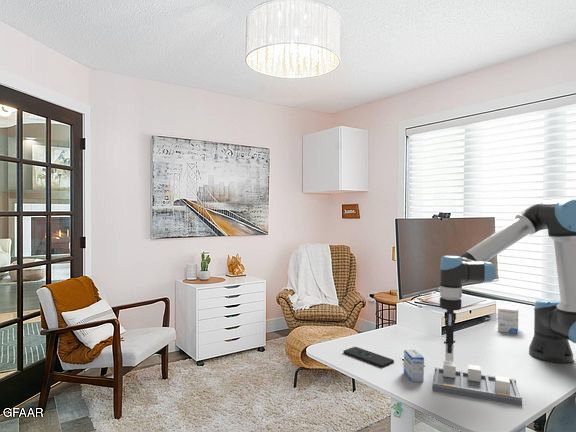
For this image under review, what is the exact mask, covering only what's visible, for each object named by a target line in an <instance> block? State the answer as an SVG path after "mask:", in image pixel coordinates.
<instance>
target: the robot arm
mask: <svg viewBox="0 0 576 432" xmlns="http://www.w3.org/2000/svg"><path fill="white" fill-rule="evenodd" d="M542 230H547V233H548V238H550V239H552V240H553V244H554V254H555V262H556V273H557V282H558V290H559V299H560V300H557V299H556V300H555V299H540V300H536V301H535V302H534V308H533V310H534V321H533V322H534V323H533V324H534V329H533V330H534V334H533V337H532V340H531V341H530V344H529V348H528V353H529V355H530V356H531V357H534V358H536V359H537V360H542V361H546V362H550V363H556V364H557V363H558V364H568V363H572V362H573V361H574V353H573V351H572V348H571V345H570V342H572V343H573V344H576V199H574V198H573V199H572V198H561V199H544V200H541V201H538V202H536V203H534V204H532V205H531V206H529V207H528V208H526V209H524V210H522V211H521V212H519V213H518V214H516V215H515V219H514V220H512V221H511V222H509V223H508V224H506V225H504V226H503V227H501V228H500V229H498V230H497V231H495V232H494V233H492V234H491V235H489V236H488V237H486V238H485V239H484V240H482V241H480V242H479V243H477V244H476V245H474V246H473V247H471V248H470V249H468V250H467V251H465V252H463V253H462V254H460V255H442V256H441V258H440V264H439V275H440V276H439V277H440V279H439V281H440V282H439V287H438V288H437V291H439V296H440V297H439V308H440V309H443V310H446V311H444V315H443V317H444V326H446V327H445V328H446V329H445V330H446V331H445V332H446V333H445V341H443V344H445V360H444V361H447V362H454V347H455V346H454V343H456V340H454V338H455V337H454V327H456V320H457V313H456V312H454V311H460V310H462V300H463V299H461V298H462V297H463V295H462V294H463V283H489V282H490V283H491V282H493V281H494V280H495V278H496V276H497V275H496V274H497V270H496V266H495V264H494V263H493V262H490V261H489V260H491V259H493V258H494V257H496V256H497V255H499V254H500V253H502V252H503V251H505V250H506V249H507V248H509V247H511V246H512V245H514V244H516V243H517V242H519V241H520V240H522V239H523V238H525V237H526V236H528V235H531V236H533V235H535V234H536V233H537V232H540V231H542ZM569 341H570V342H569Z"/></svg>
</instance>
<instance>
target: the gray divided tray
mask: <svg viewBox="0 0 576 432" xmlns="http://www.w3.org/2000/svg"><path fill="white" fill-rule="evenodd" d="M495 376H496V375H488V374H483V373H481V382H477V381H471V380H468V371H463V370H462V371H461V370H456V378H451V377H445V376H443V368H442V367H441V368H440V367H437V366H436V367H434V374H433V382H432V391H435V392H439V393H440V392H441V393H446V394H452V395H458V396H465V397H469V398H470V397H471V398H475V399H481V400H486V401H487V400H488V401H495V402H499V403H505V404H510V405H511V404H512V405H517V406H523V397H522V396H521V394H520V392H519V389H518V385H517V380H516V378H509V380H510V394H504V393H498V392H497V393H496V391H495Z"/></svg>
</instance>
